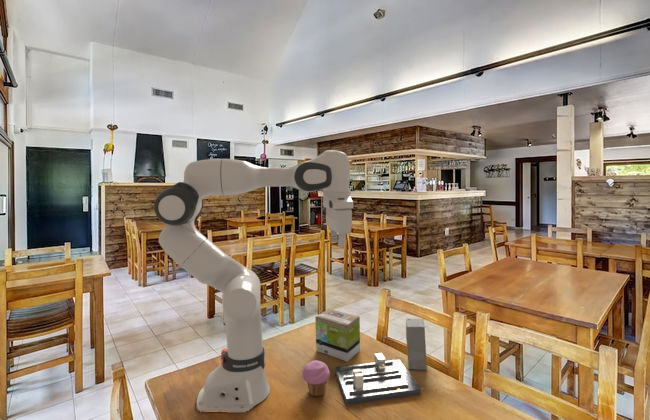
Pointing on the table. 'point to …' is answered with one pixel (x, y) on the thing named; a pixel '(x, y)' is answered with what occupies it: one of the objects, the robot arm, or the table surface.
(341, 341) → the tea box
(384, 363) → the console
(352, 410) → the table surface
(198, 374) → the table surface
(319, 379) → the cupcake
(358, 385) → the fader knob
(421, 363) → the skincare box
